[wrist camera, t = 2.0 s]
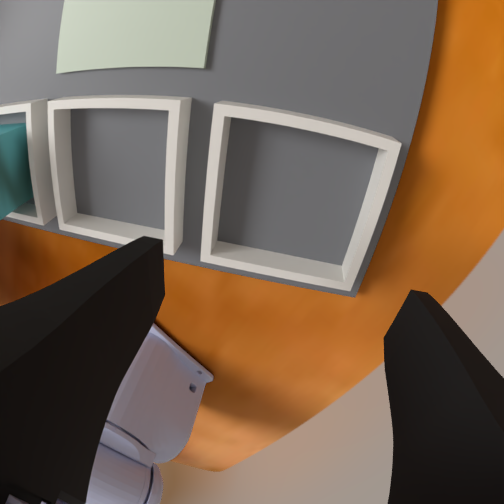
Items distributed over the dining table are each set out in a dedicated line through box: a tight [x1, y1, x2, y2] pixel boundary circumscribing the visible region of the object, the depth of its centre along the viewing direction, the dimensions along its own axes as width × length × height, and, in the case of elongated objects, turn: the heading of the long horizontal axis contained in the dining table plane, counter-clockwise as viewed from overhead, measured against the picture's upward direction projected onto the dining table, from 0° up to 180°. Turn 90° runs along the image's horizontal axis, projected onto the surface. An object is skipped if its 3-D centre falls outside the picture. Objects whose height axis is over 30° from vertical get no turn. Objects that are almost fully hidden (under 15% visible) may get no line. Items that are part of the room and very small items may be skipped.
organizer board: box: [0, 0, 438, 297], centre depth 12 cm, size 20×29×2 cm
